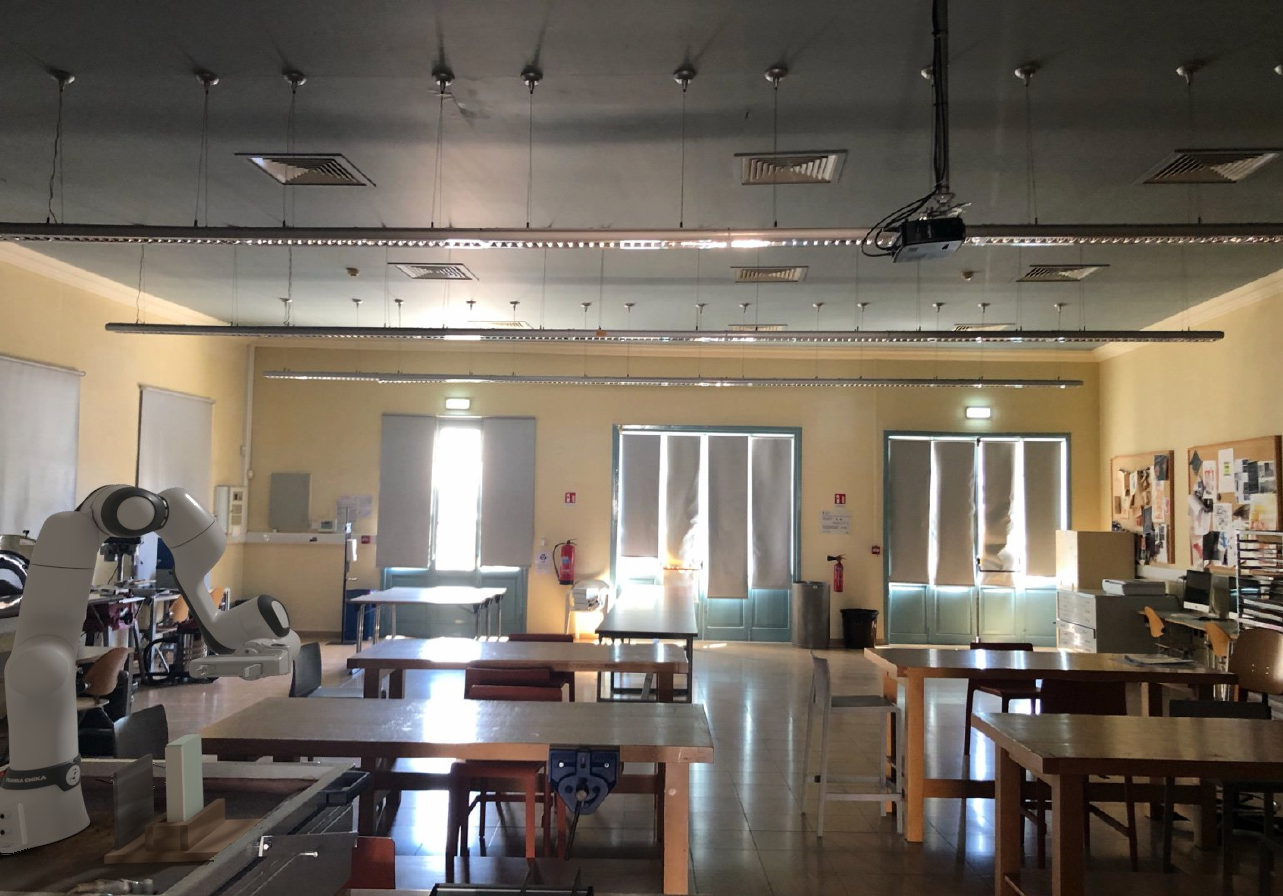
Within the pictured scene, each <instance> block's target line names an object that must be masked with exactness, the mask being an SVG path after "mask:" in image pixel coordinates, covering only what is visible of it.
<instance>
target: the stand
mask: <svg viewBox="0 0 1283 896" xmlns="http://www.w3.org/2000/svg"><path fill="white" fill-rule="evenodd" d="M153 764H154V762H153V753H146V755H143V756H141V757H140V758H138V759H136V760H134V761H132V762H130V763H129V764H127V765H125V766H122V767H121V768H119V769H117V770H115V771H113V772H112V773H113V776H112V781H113V784H112V785H113V786H112V788H113V790H112V791H113V793H112V794H113V821H114V822H113V823H114V824H113V827H114V828H113V829H114V848H113V849H112V850H109V852H107V853H106V854H104V855H103V857H104V858H103V860H104V865H107V864H109V865H110V864H141V863H142V864H145V863H147V864H148V863H174V862H175V863H177V862H179V863H181V862H205V861H204V860H208V859H209V858H210V857H214V855H216V854H217V853H219V852H221V851H222V850H223V849H224V848H226V847H227V846H228V845H229V844H230V843H233V842H234V841H236V840H237V839H238V838H240V837H241V836H243V834H245V833H247V832H248V831H249V830H250V829H252V828H253V827H254V826H255V825H256V824H258V823H259V822H260V821H262V820H263V821H264V818H242V819H241V818H240V819H239V818H238V819H226V799H225V798H216V799H214V800H213V801H212V802H211V803H209V804H208V805H206V806H205V807H203V809H202V810H201V811H199V812H198V813H196V814H195V815H194V816H192V817H191V818H189V819H188V820H187V821H185V822H167V811H165V813H163V814H162V815H160V816H158V817H157V818H155V802H154V798H155V797H154V793H155V792H154V788H153V787H154V765H153Z"/></svg>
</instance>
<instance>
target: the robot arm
mask: <svg viewBox="0 0 1283 896" xmlns="http://www.w3.org/2000/svg"><path fill="white" fill-rule="evenodd" d="M150 533H155V534H156V535H157V536H158V537H160V539H161V540H162V542H163V543H164V544H165V545H166V547H167V548H168V549H169V551H170V552H171V554H172V557H173V561H174V565H173V566H172V569H171V574H172V578H173V580H174V581H173V582H174V583H175V585H176V588H177V589H178V591H179V593H180V595H181V597H182V599H183V601H184V603H185V604H186V606H187V608H188V610H189V612H190V613H191V615H192V617H193V619H194V620H195V622H196V624H197V626H198V628H199V631H200V633H201V636H202V640H203V642H204V645H205V646H206V648H207V649H208V650H209V651H211V652H212V653H214V654H210V655H206V656H202V657H198V658H196V659H192V660H190V662H189V666H188V667H189V668H188V670H189V676H190V677H191V678H195V679H204V678H234V677H235V678H237V677H238V678H240V679H242V680H245V681H247V682H254V681H258V680H260V679H265V678H269V677H280V676H287V675H289V674H291V672H292V664H293V661H295V660H296V658H297V657H298V655H299V653H300V652H301V648H302V647H301V645H302V641H301V638H300V636H299V635H298V633H296V632H295V631H294V630H292V629H291V621H290V616H289V614H288V611H287V609H286V607H285V605H284V604H283V603H282V602H281V601H279V599H277V598H275V597H273V596H271V595H268V594H260V595H257V596H255V597H253V598H252V599H248V600H246V601H244V602H243V603H241V604H238V605H237V606H234V607H232V608H229V609H227V610H221V609H219V608H218V606H217V605H216V603H215V601H214V599H213V597H212V596H211V593H210V592H209V590H208V588H207V586H206V584H205V577H206V576H207V574H208V573H209V572H210V571H211V570H212V569H213V568H214V567H215V566H216V565H217V564H218V562H219V561H220V560H221V558H222V557H223V556H224V553H225V551H226V548H227V535H226V533H225V531H224V529H223V527H222V526H221V524H219V522H218V521H217V519H216V518H215V517H214V515H212V513H211V512H210V511H209V510H208V509H207V508H206V506H205V505H204V504H203V503H202V502H201V501H200V500H199V499H198V498H197V497H196V496H194V495H193V494H192V493H191V492H190V491H189V490H188V489H186V488H182V487H177V486H175V487H171V488H166V489H164V490H162V491H160V492H158V493H155V492H153V491H150V490H147V489H146V488H143V487H138V486H133V485H132V484H127V483H123V484H120V483H118V484H117V483H116V484H106V485H102V486H99V487H98V488H96V489H94V490H93V491H91V492H90V493H89V494H88V495H87V496H86V497H85V498H84V500H83V501H82V502H81V503H80V504H79V505H78V506H76V508H75V509H73V510H65V511H60V512H55V513H53V514H51V515H49V516H48V517H46V519H45V521H44V522H43V524H42V526H41V529H40V530H39V533H38V534H37V535H38V536H37V537H36V541H35V543H34V546H33V549H32V552H31V556H30V561H29V565H28V567H27V569H28V570H27V574H26V577H25V583H24V587H23V593H22V596H21V600H20V604H19V605H20V606H19V612H18V613H19V614H18V617H17V625H16V630H15V634H14V635H15V636H14V641H13V644H12V649H11V653H10V655H9V658H7V660H6V663H5V667H4V671H3V672H4V676H3V677H4V691H5V703H6V705H5V706H6V715H7V724H8V744H9V745H8V751H9V753H8V755H9V766H7V767H6V768H5V769H3V770H1V771H0V779H1V778H3V779H2V781H1V784H0V852H1V853H13V854H15V853H14V852H17V851H20V852H22V851H21V850H23V851H25V850H24V849H26V850H27V848H28V849H31V848H35V847H36V848H37V847H39V846H43V845H48V844H51V843H55V842H58V841H61V840H63V839H66V838H68V837H72V836H73V835H76V834H78V833H80V832H81V831H83V830H84V829H86V828H87V827H88V826H89V825H90V823H91V820H90V817H89V815H88V812H87V809H86V805H85V801H84V795H83V792H82V791H83V790H82V785H81V779H82V778H81V777H82V770H83V769H82V755H81V753H80V752H79V737H78V736H79V734H78V733H79V731H78V728H79V727H78V707H77V705H78V704H77V687H76V662H77V657H78V651H79V646H80V643H81V638H82V637H81V635H82V633H83V627H84V623H85V618H86V612H87V609H88V606H89V605H88V604H89V598H90V595H91V591H92V585H93V580H94V575H95V570H96V565H97V559H98V553H99V552H100V549H101V547H102V546H103V544H104V542H106V540H108V539H109V538H110V537H114V538H124V539H133V538H139V537H142V536H145V535H147V534H150ZM17 853H18V852H17Z"/></svg>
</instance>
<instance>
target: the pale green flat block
mask: <svg viewBox="0 0 1283 896" xmlns="http://www.w3.org/2000/svg"><path fill="white" fill-rule="evenodd" d="M164 757H165V759H164V761H165V762H164V763H165V766H166V768H165V783H166V784H165V787H166V789H165V791H166V795H165V797H166V812H167V822H185V821H187V820H188V819H189V818H191V817H192V816H194V815H195V814H196V813H198V812H199V811H201V810H202V809H204V786H203V784H204V783H203V753H202V734H201V733H195V734H194V733H191V734H184V735H182V736H181V737H179V738H177V739H175V740H173V741H171V742H170V743H167V744H166V746H165V747H164Z"/></svg>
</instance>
